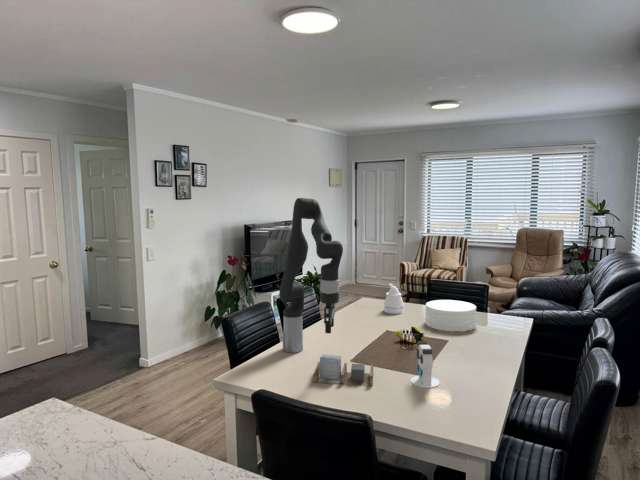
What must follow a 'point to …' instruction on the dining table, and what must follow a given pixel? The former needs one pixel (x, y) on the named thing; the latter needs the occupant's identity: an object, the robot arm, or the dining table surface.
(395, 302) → the honey pot
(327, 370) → the medicine box
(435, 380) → the panda figurine
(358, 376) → the cord plug
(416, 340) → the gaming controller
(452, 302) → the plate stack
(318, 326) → the dining table surface
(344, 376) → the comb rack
